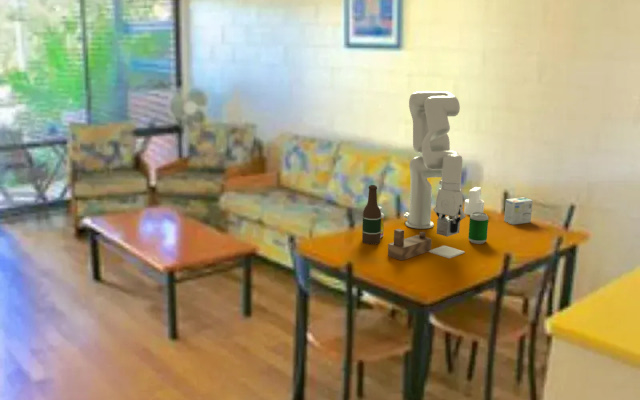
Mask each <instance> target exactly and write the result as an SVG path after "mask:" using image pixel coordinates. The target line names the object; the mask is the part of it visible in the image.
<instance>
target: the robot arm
mask: <svg viewBox="0 0 640 400" xmlns="http://www.w3.org/2000/svg"><path fill="white" fill-rule="evenodd" d="M408 107H409V111H410V112H409V113H410V115H411V119H412V147H413V150H414V151H415V152H416V153H419V154H422V155H419V156H415V157H413V158H411V160H410V161H409V174H410V194H409V195H410V196H409V212H406V211H405V213H403V216H402V217H403V218H406V219H407V220H406V221H405V226H407V227H408V228H410V229H411V228H412V229H417V230H418V229H419V230H425V229H430V228H431V229H432V228H433V227H434V222H433V221H431V219H432V201H433V200H432V199H433V186H432V184H431V183H430V181H429V180H428V179H429V178H431V179H432V178H441V180H439V183H438V184H439V185H440V187H439V189H438V190H437V191H438V192H437V194H436V203H435V207H434V208H433V212H434V213H435V215H436V216H437V219H439V218H443V217H446V216H452V220H453V223H452V226H451V233H455V232H457V230H458V223H459V222H460V223H461V221H462V220H463V219H465V218H466V214H465V213H464V210H463V208H464V206H463V205H464V202H463V201H464V200H463V199H464V198H463V192H462V190H461V186H462V170H463V157H462V155H460V154H459V153H458V151H456V150H450V148H451V147H450V145H451V144H450V138H449V135H448V133H449V132H450V130H451V126H450V122H449V117H456V116H458V115H459V113H460V109H461V106H460V101H459V99H458V98H457V97H456V96H455V95H454V94H452V93H451V92H449V91H444V90H443V91H442V90H439V91H438V90H437V91H434V90H433V91H431V90H430V91H429V90H425V91H424V90H422V91H416V92H413V93H411V95H410V97H409V99H408ZM455 217H456V218H455Z"/></svg>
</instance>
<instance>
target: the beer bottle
mask: <svg viewBox="0 0 640 400" xmlns="http://www.w3.org/2000/svg"><path fill="white" fill-rule="evenodd" d="M377 194H378V186H377V185H375V184H370V185H368V196H367V197H368V198H367V203H366V205H365V207H364V208H363V211H362V231H361V233H362V234H361V239H362V243H364V244H366V245H377V244H380V243H381V238H380V235H381V212H382V211H381V212H380V209H379V207H378V206H379V205H378V197H377V196H378V195H377Z"/></svg>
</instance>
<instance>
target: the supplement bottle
mask: <svg viewBox="0 0 640 400" xmlns="http://www.w3.org/2000/svg"><path fill="white" fill-rule="evenodd" d="M378 207H379V209H380V212H381V235H380V239H381V238H382V237H383V236H384V231H385V228H384V227H385V224H384V223H385V214H384V213H383V212H382V211H383V207H382V206H380V205H378Z"/></svg>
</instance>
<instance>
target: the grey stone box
mask: <svg viewBox="0 0 640 400" xmlns="http://www.w3.org/2000/svg"><path fill="white" fill-rule="evenodd" d="M455 218H456V217H455ZM436 221H437V223H436V225H437V226H436V234H437V235H439V236H443V237H449V236H454V235H457V234H459V233H460V228H461V227H460V225H461V221H460V222H459V223H458V230H457V232H455V233H451V226H452V223H453V220H452V216H447V215H446V216H445V217H443V218H439V219H438V218H437V219H436Z"/></svg>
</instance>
